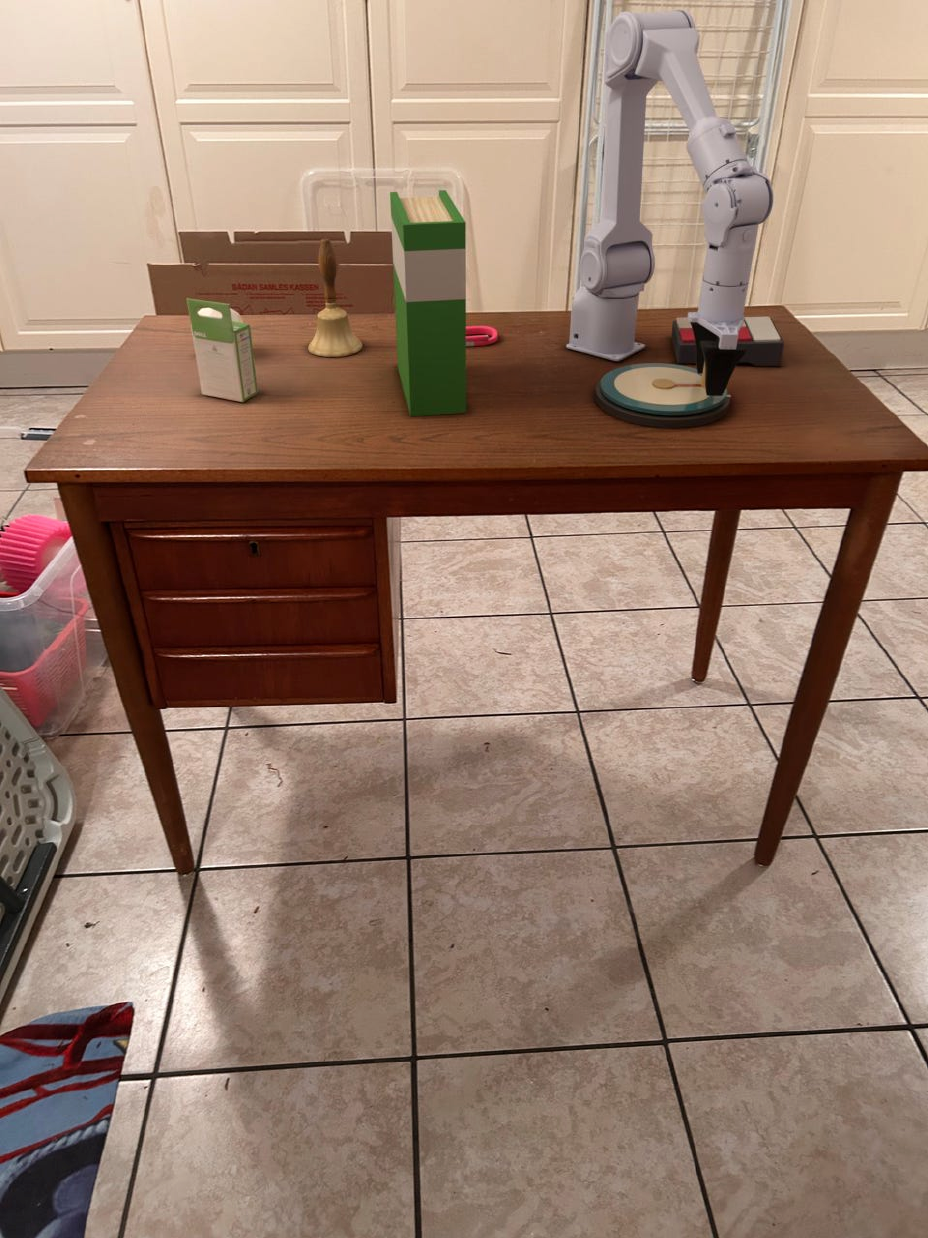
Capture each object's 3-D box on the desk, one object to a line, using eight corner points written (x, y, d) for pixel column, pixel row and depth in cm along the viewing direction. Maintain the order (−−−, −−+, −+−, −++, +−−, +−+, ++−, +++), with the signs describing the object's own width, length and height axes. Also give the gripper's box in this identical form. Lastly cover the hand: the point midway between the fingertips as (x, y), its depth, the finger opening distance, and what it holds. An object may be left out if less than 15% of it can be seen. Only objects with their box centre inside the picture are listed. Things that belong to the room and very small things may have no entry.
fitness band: (448, 347, 147) (448, 338, 146) (443, 335, 152) (443, 325, 151) (500, 345, 148) (500, 335, 147) (494, 332, 152) (494, 322, 152)
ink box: (260, 393, 132) (247, 295, 125) (243, 404, 129) (228, 304, 122) (219, 385, 135) (203, 289, 127) (201, 395, 132) (184, 297, 124)
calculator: (672, 314, 148) (772, 312, 146) (670, 342, 150) (768, 340, 149) (679, 339, 139) (785, 337, 137) (677, 368, 141) (781, 366, 140)
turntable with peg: (605, 414, 123) (608, 379, 120) (596, 365, 137) (599, 333, 134) (736, 416, 122) (743, 381, 120) (715, 367, 136) (720, 335, 133)
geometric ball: (220, 368, 148) (217, 316, 148) (258, 357, 143) (255, 304, 144) (181, 356, 141) (178, 303, 141) (220, 345, 137) (217, 290, 137)
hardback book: (397, 367, 140) (390, 191, 126) (447, 364, 141) (445, 189, 127) (410, 416, 126) (403, 224, 112) (466, 412, 127) (465, 222, 113)
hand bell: (298, 353, 145) (286, 243, 136) (325, 335, 151) (315, 229, 142) (346, 360, 142) (338, 249, 133) (371, 342, 149) (365, 235, 139)
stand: (569, 403, 129) (569, 395, 129) (638, 366, 141) (639, 357, 140) (687, 440, 120) (689, 431, 119) (752, 396, 131) (753, 387, 130)
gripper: (685, 263, 126) (672, 363, 134) (702, 297, 114) (687, 404, 122) (739, 263, 126) (723, 363, 134) (762, 298, 114) (742, 405, 122)
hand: (709, 383), depth 128 cm, fingers open, 7 cm apart
